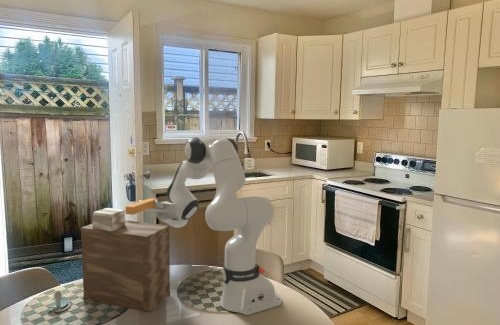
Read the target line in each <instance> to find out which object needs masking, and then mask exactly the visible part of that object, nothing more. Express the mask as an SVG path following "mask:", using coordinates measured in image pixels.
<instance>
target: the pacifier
mask: <svg viewBox="0 0 500 325" xmlns="http://www.w3.org/2000/svg"><path fill="white" fill-rule="evenodd" d="M53 298H54V300H55V303H54V304H53V305H48V307H47V308H49V309H54V312H56V313H61V312H65V311H67V310H68V309H70V307H71V306H72V303H70V302H69V298H68V297H66V296H62V292H61V291H60V290H56V291H55V292H54V294H53ZM61 308H62V309H61ZM59 309H60V310H59Z"/></svg>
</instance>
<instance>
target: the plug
mask: <svg viewBox="0 0 500 325" xmlns="http://www.w3.org/2000/svg"><path fill="white" fill-rule="evenodd" d="M154 201H158V202H160V198H159V197H150V198H147V199H143V200H142V201H140V202H138V201H137V202H136V203H135V202H134V203H131V204H128V205H126V206H125V215H136V214H139V213H141V212H144V210H147V209H150V208H152V207H155V205H154Z"/></svg>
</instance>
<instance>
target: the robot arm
mask: <svg viewBox="0 0 500 325" xmlns="http://www.w3.org/2000/svg"><path fill="white" fill-rule="evenodd" d="M184 155H185V160H183V161H182V162H180V164H179V165H178V167H177V170H176V172H175V174H174V177H173V178H172V181H171V183H170V184H169V186H168V188H167V190H166V198H168V200H170V202H169V201H168V200H167V201H161V202H160V201H159V202H158V201H154V205H155V207H152V208H150V209H147V210H144V211H143V212H145V213H149V214H150V213H151V214H155V217H156V218H157V220H160V221H162V222H163V223H166V225H167V226H169V227H170V226H171V227H173V228H176V229H179V228H182V227H184V226H186V225H187V224H188V220H189V219H191V218H192V217H194V216H195V215H196V214H197V212H198V210H199V209H200V208H199V206H200V201H199V200H198V198H197V197H195V195H194V194H193V193H192V192H191V191H190V189H188V187H187V186H186V181H187V178H188V179H192V180H201V179H203V178H205V177H206V176H208V174H209V172H210V170H211V169H212V173H213V176H214V182H215V195H214V197H213V199H212V200H211V201H210V203H209V204H207V207H206V208H205V209H206V210H205V214H204V217H205V222H206V224H207V226H208V227H209V228H210V229H211V230H213V231H217V232H219V231H220V232H221V231H222V232H229V231H235V230H237V231H236V233H235V234H234V235H233V236H232V237H231V238H229V239H228V240H227V241H226V244H225V246H224V264H223V267H222V268H223V270H222V280H223V286H222V294H221V296H220V301H219V305H220V306H221V307H222V308H223V309H224V310H226V311H229V312H234V313H238V314H242V315H244V316H250V315H253V314H256V313H260V312H264V311H266V310H270V309H273V308H276V307H279V306H281V305H282V298H281V296H280V295H279V294H278V292H276V290H275V285H274V284H273V283H272V281H271V280H270V279H268V278H267V277H266V276H264V273H265V272H266V271H265V268H264V267H262V266H260V265H259V264H257V262H256V255H257V254H256V253H257V252H256V251H257V244H258V240H259V238H260V237H261V234H262V232H263V230H264V229H265V228H266V226H267V225H268V224H270V222H272V220H273V219H274V216H275V215H274V214H275V209H274V205H273V203H272V202H271V200H270V199H269V198H268V197H265V196H257V195H256V196H254V195H253V196H244V197H239V196H238V195H237V192H238V191H240V190H241V189H243V187H244V185H245V183H246V174H245V172H244V169H243V166H242V163H241V159H240V157H239V148H238V144H237V142H236V141H235V140H234V139H232V138H231V137H230V138H229V137H224V138H223V137H215V136H214V137H213V136H206V137H204V136H203V137H202V136H201V137H192V138H188V140H187V141H186V142H185V145H184ZM140 201H143V200H140V199H139V200H138V201H137V202H140Z"/></svg>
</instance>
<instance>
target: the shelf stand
mask: <svg viewBox="0 0 500 325" xmlns="http://www.w3.org/2000/svg"><path fill="white" fill-rule="evenodd" d="M91 218H92V223H91V224H88V225H85V226H82V227H80V236H81V263H82V285H83V287H82V288H83V292H82V293H83V299H84V298H85V299H84V300H88V299H89V300H88V301H92V300H93V302H97V301H98V303H102V302H103V303H104V304H108V305H112V306H116V305H117V306H118V307H121V308H126V309H131V310H136V311H140V312H145V313H149V312H151V311H152V310H154V309H155V308H156V307H157V306H158V305H159V304H161V303H162V302H163V301H164V300H166V299H167V298H168V297H169V296H171V285H170V284H171V281H170V279H171V277H170V276H171V274H170V273H171V272H170V271H171V270H170V267H171V266H170V264H171V263H170V261H171V260H170V257H171V256H170V225H168V224H166V225H165V224H157V223H149V222H141V221H133V220H127V219H126V209H120V208H119V209H118V208H111V207H105V208H103V209H99V210H96V211H95V210H94V211H93V214H92V215H91ZM103 303H102V304H103Z"/></svg>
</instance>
